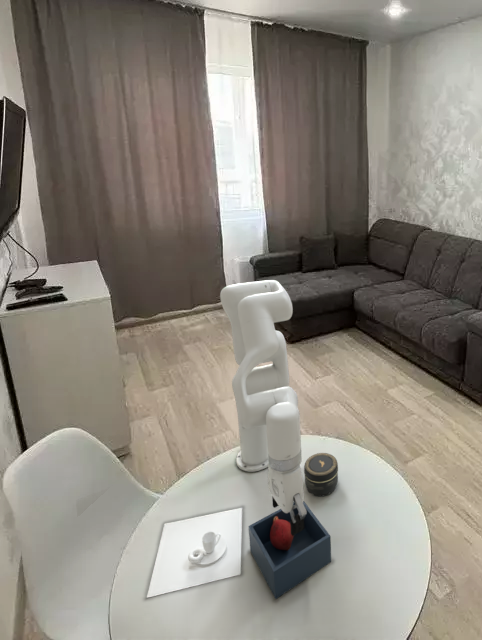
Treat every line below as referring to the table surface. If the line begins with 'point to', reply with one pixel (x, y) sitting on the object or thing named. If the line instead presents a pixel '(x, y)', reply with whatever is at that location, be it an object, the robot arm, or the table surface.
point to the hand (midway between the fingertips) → (288, 517)
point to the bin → (290, 551)
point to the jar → (321, 474)
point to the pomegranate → (281, 534)
